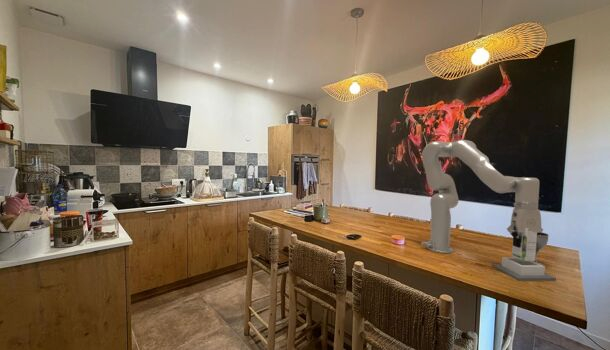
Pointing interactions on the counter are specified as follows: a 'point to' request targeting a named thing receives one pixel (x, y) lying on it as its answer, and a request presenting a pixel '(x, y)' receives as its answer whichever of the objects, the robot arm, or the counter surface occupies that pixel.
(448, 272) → the counter surface
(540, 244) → the wine glass
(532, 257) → the syrup box
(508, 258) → the dock
